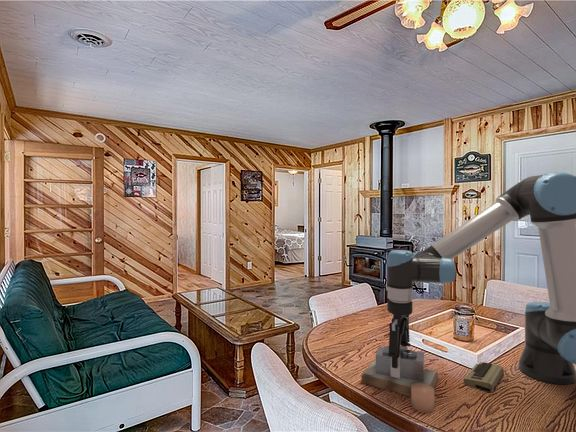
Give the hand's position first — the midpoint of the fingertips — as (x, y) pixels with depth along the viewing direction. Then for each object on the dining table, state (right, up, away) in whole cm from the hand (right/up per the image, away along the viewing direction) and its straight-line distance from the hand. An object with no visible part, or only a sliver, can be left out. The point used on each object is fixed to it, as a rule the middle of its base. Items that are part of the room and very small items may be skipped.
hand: (399, 371), depth 109 cm
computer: (+28, -4, +1) cm, 28 cm away
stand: (0, -3, 0) cm, 3 cm away
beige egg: (+2, -4, -13) cm, 14 cm away
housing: (0, 0, 0) cm, 0 cm away
